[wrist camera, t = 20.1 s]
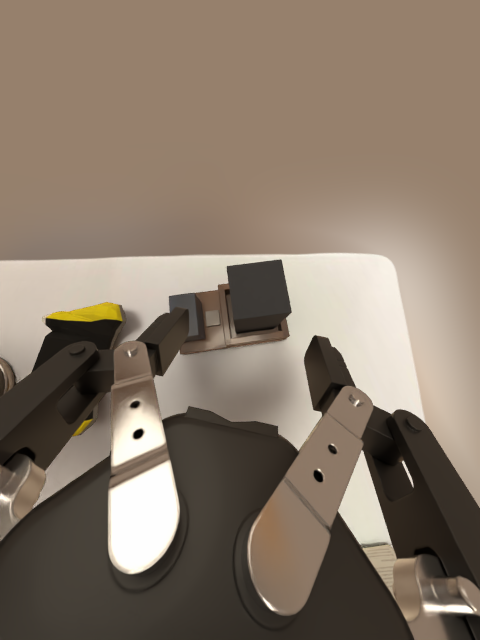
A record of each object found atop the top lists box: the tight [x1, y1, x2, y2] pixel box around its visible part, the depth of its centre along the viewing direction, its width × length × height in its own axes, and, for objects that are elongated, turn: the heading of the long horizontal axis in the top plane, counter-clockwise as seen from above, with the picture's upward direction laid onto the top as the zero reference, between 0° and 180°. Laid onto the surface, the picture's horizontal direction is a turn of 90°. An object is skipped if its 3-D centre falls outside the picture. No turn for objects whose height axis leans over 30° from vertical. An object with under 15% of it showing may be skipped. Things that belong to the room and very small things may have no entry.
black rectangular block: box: [227, 260, 292, 334], centre depth 21 cm, size 5×5×9 cm
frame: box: [169, 283, 289, 354], centre depth 24 cm, size 14×8×6 cm, turn 98°
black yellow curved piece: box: [32, 302, 126, 436], centre depth 23 cm, size 15×6×10 cm
